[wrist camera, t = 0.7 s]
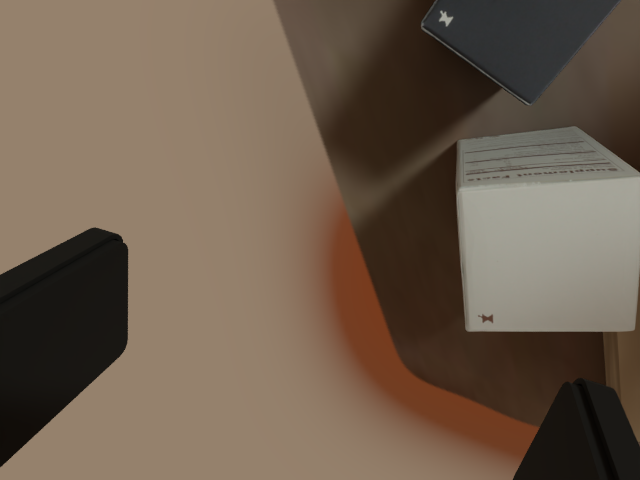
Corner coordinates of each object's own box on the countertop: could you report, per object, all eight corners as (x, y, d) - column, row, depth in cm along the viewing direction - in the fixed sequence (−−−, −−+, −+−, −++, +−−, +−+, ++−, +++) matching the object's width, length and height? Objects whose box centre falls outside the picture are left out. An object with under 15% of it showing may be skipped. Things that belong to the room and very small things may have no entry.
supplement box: (575, 233, 32) (638, 339, 21) (460, 238, 34) (460, 336, 23) (580, 122, 29) (653, 174, 18) (455, 135, 32) (452, 189, 20)
